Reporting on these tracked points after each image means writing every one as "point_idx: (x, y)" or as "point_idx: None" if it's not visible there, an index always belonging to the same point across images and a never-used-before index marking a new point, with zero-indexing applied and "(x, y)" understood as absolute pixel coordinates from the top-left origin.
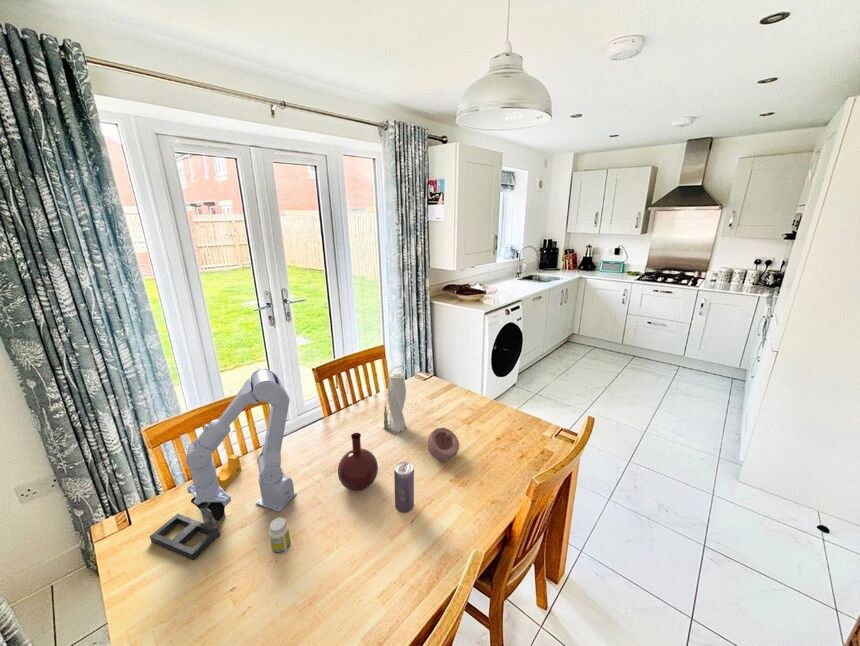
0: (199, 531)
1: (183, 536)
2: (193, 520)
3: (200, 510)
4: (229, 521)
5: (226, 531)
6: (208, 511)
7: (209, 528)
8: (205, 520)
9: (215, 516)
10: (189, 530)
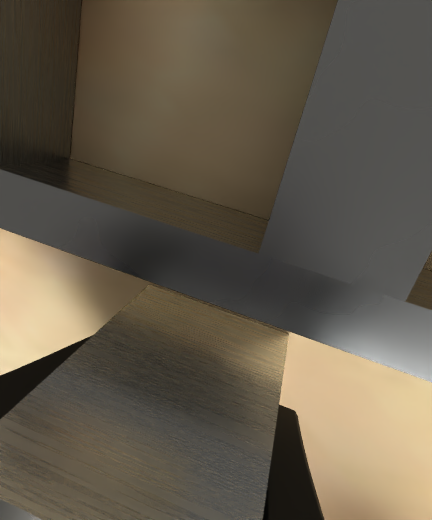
0: (250, 219)
1: (363, 8)
2: (383, 352)
3: (311, 515)
4: (61, 338)
5: (9, 237)
6: (13, 475)
7: (49, 213)
8: (241, 352)
9: (11, 372)
10: (327, 159)
